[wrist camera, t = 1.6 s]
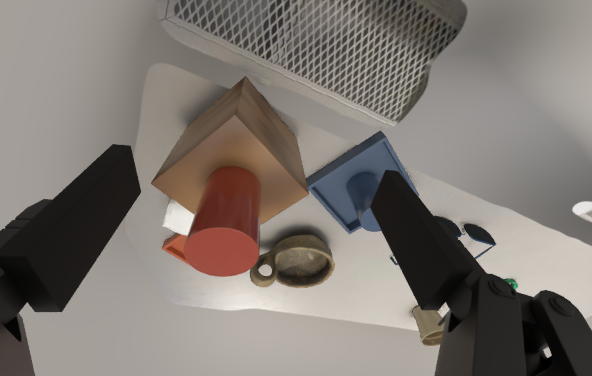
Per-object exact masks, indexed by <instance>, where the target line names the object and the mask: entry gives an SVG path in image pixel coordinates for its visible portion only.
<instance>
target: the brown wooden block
mask: <svg viewBox="0 0 592 376" xmlns="http://www.w3.org/2000/svg"><path fill="white" fill-rule="evenodd" d="M226 166H237V167H241V168H244V169H246V170H248V171H250V172H251V173H253V174H254V175H255V176H256V177H257V179H258V180H259V182H260V185H261V216H260V225H261V224H263V223H264V222H266V221H268V220H269V219H271V218H272V217H274V216H275V215H277V214H279V213H280V212H282V211H283V210H285V209H286V208H288V207H290V206H291V205H293V204H294V203H296V202H298V201H299V200H301V199H302V198H304V197H305V196H307V195H309V192H308V188H307V183H306V179H305V174H304V170H303V165H302V160H301V156H300V151H299V147H298V142H297V138H296V137H295V136H294V135H293V133H292V132H291V131H290V130H289V128H288V127H287V126H286V125H285V124H284V122H283V121H282V120H281V119H280V117H279V116H278V115H277V114H276V113H275V111H274V110H273V109H272V108H271V106H270V105H269V104H268V103H267V102H266V100H265V99H264V98H263V97H262V95H261V94H260V93H259V92H258V91H257V89H256V88H255V87H254V86H253V85H252V83H251V82H250V81H249V80H248V78H247V77H246V76H245V77H244V78H243V79H242V80H241V81H240V82H238V83H237V84H236V85H235V86H234V87H233V88H231V89H230V90H229V91H228V92H227V93H226V94H225V95H223V96H222V97H221V98H220V99H219V100H218V101H216V102H215V103H214V104H213V105H212V106H211V107H210V108H208V109H207V110H206V111H205V112H204V113H203V114H201V115H200V116H199V117H198V118H197V119H196V120H195V121H193V122H192V123H191V124H190V125H189V126H188V127H187V128H186V129H185V131H184V132H183V134H182V136H181V137H180V139H179V140H178V142H177V143H176V145H175V146H174V148H173V150H172V151H171V153H170V154H169V156H168V157H167V159H166V160H165V162H164V164H163V165H162V167H161V168H160V170H159V171H158V173H157V175H156V176H155V178H154V179H153V181H152V182H151V184H152V185H153V186H155V187H156V188H158V189H159V190H160V191H162V192H163V193H165V194H166V195H167V196H169V197H170V198H171V199H173V200H174V201H176V202H177V203H178V204H180V205H181V206H183V207H184V208H185V209H187V210H188V211H190V212H191V213H192V214H194V215H195V212H196V209H197V206H198V203H199V200H200V197H201V194H202V191H203V188H204V185H205V182H206V180H207V178H208V176H209V175H210V174H211V173H212V172H213V171H215V170H217V169H219V168H221V167H226Z"/></svg>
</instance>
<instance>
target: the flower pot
mask: <svg viewBox="0 0 592 376" xmlns="http://www.w3.org/2000/svg"><path fill="white" fill-rule="evenodd" d="M413 314H414V317H415V319H416V322H417V325H418V329H419V331H420V337H421V344H422V345H424V346H438V345H440V344H441V339H442V334H443V329H444V323H443V324H442V325H441V326H438V325H437V324H438V323H439V321H440V320H441V319H442V317H441V316H440V314H439V313H438V312H437V310H421V308H420V306H417V307H416V308H415V309H414V310H413Z"/></svg>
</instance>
